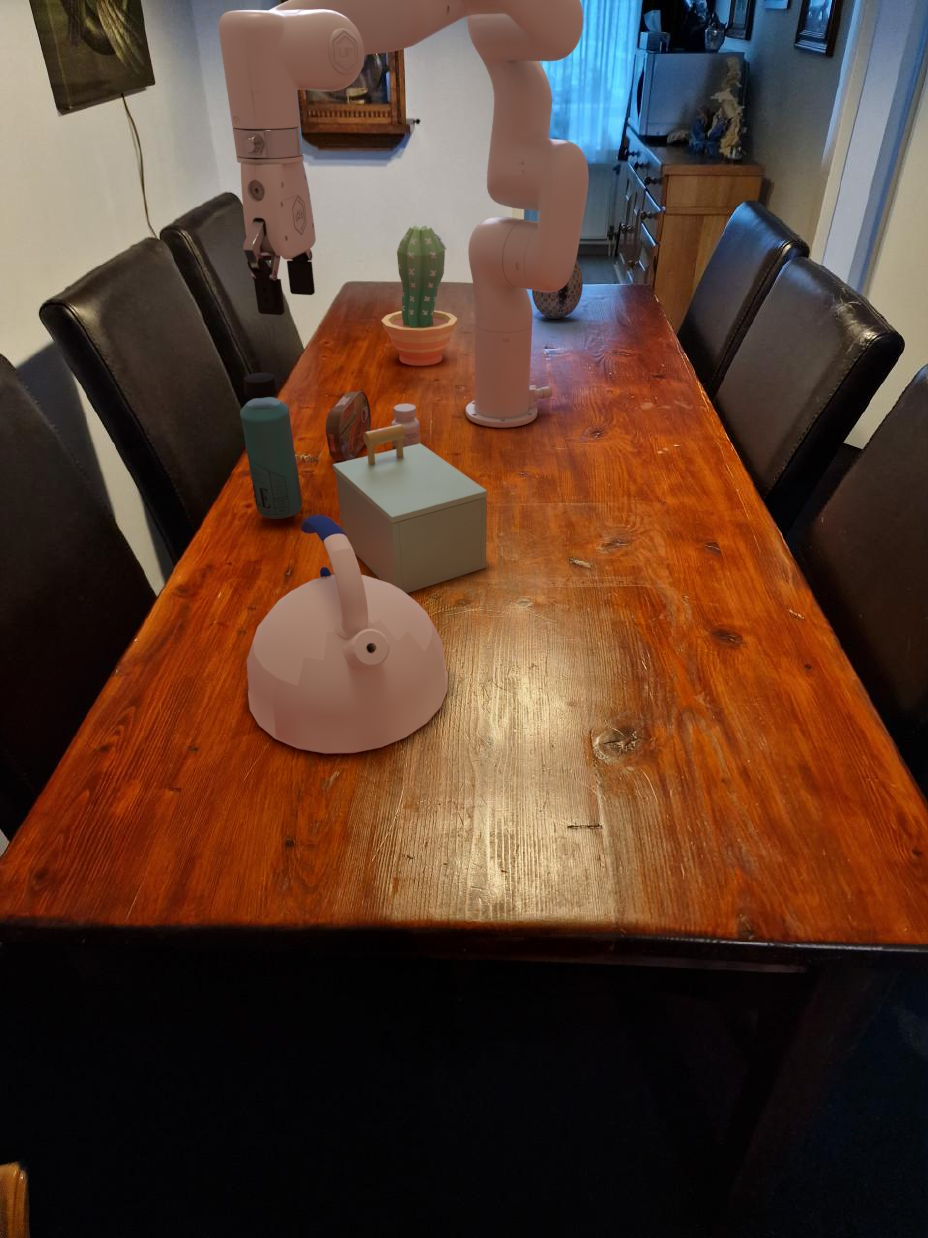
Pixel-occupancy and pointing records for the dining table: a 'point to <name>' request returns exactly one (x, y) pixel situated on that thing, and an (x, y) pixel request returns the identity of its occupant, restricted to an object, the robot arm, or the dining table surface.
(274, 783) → the dining table surface
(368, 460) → the lid
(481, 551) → the chest
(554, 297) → the decorative egg
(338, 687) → the kettle
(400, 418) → the pill bottle
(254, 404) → the beverage bottle
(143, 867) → the dining table surface
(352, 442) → the tin
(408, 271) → the potted cactus
